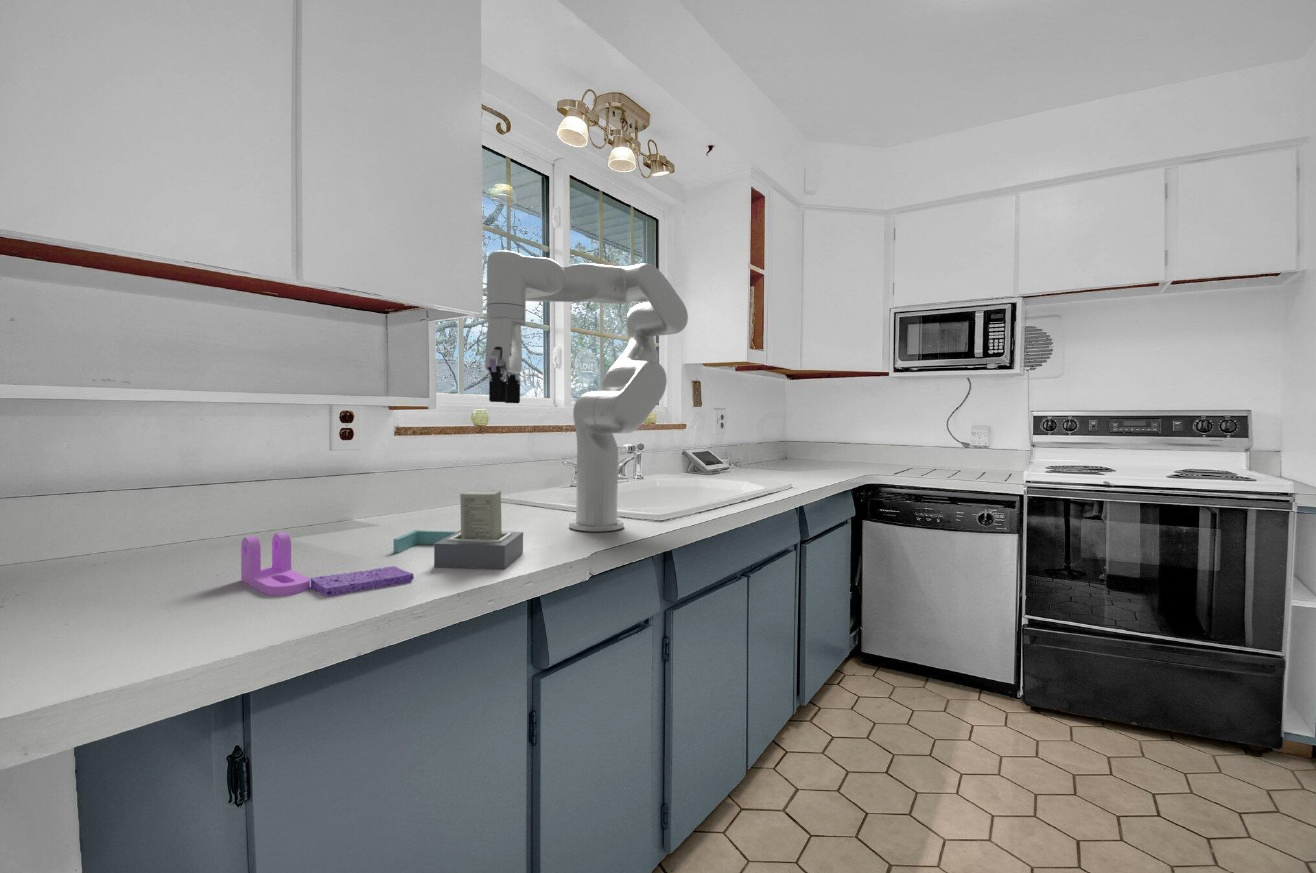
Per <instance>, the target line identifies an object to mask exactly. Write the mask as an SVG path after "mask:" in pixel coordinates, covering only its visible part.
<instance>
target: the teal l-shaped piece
mask: <svg viewBox="0 0 1316 873" xmlns="http://www.w3.org/2000/svg"><path fill="white" fill-rule="evenodd" d="M458 531H459V530H458ZM458 531H457V530H454V531H453V530H421V529H420V530H419V529H418V530H417V529H414V530H412V531H409V532H407V533H405V534H402V535H401V536H398V537H396V538H393V553H394V554H399V553H401V552H404V551H406V550H409V549H411V548H412V547H414V546H416V545H434V544H435V543H436V542H438V541H440V540H442V539H444V538H446V537H448V536H450V535H452V534H454V533H456V532H458Z"/></svg>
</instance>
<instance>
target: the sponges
mask: <svg viewBox="0 0 1316 873" xmlns="http://www.w3.org/2000/svg"><path fill="white" fill-rule="evenodd" d="M414 575H415V574H414V573H412V572H410V571H406V570H404V569H402V568H399V567H397V566H395V565H393V566H386V567H382V568H381V567H379V568H373V569H370V570H369V569H367V570H364V571H363V570H360V571H352V572H344V573H338V574H329V575H322V576H321V575H320V576H313V577H310V588H312V589H313V588H314V589H313V590H315V591H316V590H317V591H316V592H318V593H319V592H320V593H319V594H320V595H323V596H324V597H327V598H329V597H334V596H339V595H345V594H349V593H350V594H351V593H355V592H362V591H367V590H371V589H372V588H374V589H379V588H385V587H390V586H395V585H400V584H401V585H402V584H408V583H411V582H412V581H413V580H414V579H415V578H414V577H415V576H414ZM361 590H362V591H361ZM372 590H373V589H372Z"/></svg>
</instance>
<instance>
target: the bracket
mask: <svg viewBox="0 0 1316 873" xmlns="http://www.w3.org/2000/svg"><path fill="white" fill-rule="evenodd" d="M291 541H292V540H291V537H290V535H289V533H288V532H281V533H280V532H279V533H274V534H273V536H272V540H271V567H267V568H261V565H262V564H261V562H262V561H261V559H262V558H261V543H260V540H259V538H258V537H257V536H256V535H255V536H247V537H243V539H242V540H241V545H240V552H241V553H240V554H241V555H240V559H241V560H240V563H241V564H240V567H241V568H240V570H241V571H240V573H241V575H240V576H241V577H240V579H241V580H242V582H243V581H244V582H243V583H245V584H247V583H248V584H247V585H248V586H251V587H253V588H254V587H255V589H256V588H257V590H258V589H259V590H258V591H260V590H261V591H260V592H262V593H263V592H264V593H263V594H266V595H268V596H289V595H295V594H300V593H303V592H306V591H308V590H309V589H310V588H311V577H309V576H306V575H303V574H301V573H299V572H297V571H294V570H293V569H292V542H291ZM241 580H240V581H241ZM305 590H306V591H305ZM299 592H300V593H299Z"/></svg>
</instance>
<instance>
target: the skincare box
mask: <svg viewBox="0 0 1316 873" xmlns="http://www.w3.org/2000/svg"><path fill="white" fill-rule="evenodd" d="M459 494H460V495H459V496H460V497H459V498H460V499H459V500H460V530H461V539H482V540H499V539H500V538H502V537H501V536H502V535H501V531H502V495H501V494H502V492H501V490H467V491H465V492H461V493H459Z"/></svg>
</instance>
